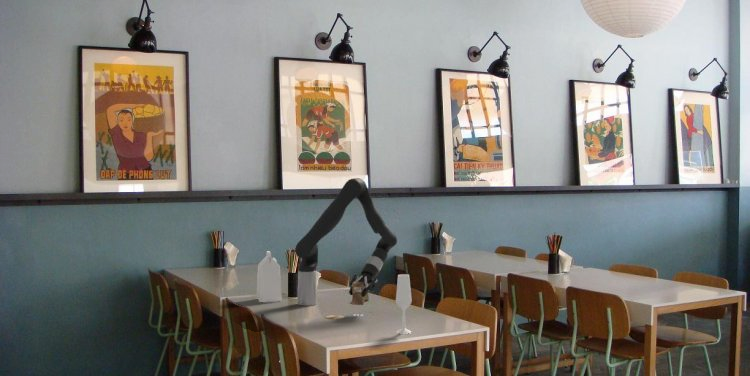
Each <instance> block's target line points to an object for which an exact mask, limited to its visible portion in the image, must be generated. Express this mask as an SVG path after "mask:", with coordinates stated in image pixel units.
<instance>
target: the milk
mask: <svg viewBox="0 0 750 376" xmlns="http://www.w3.org/2000/svg"><path fill="white" fill-rule="evenodd" d="M256 276H257V278H256V279H257V280H256V300H257V299H258V300H259V301H258V300H257V301H258V303H260V302H263V303H276V302H277V303H278V301H280V302H283V301H282V300H283V299H282V298H283V297H282V281H281V280H282V277H281V266H280V264H279V263H278V260H277V259H276V258H275V257H273V256H272V252H271V251H269V250H267V251H266V256H264V258H263V259H262V260H261V261H260V262H259V263H258V265H257V275H256Z"/></svg>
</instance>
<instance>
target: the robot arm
mask: <svg viewBox="0 0 750 376" xmlns="http://www.w3.org/2000/svg"><path fill="white" fill-rule="evenodd" d="M354 199H357V200H358V201H359V202H360V205H361V206H362V209H363V212H364V215H365V218H366V221H367V223H368V225H369V226H370V227H371V229H372V231H373V233H375V234H376V235H377V234H378V235H380V237H381V238H380V239H379V240H378V242H377V244H376V246H375V249H374V250H373V252H372V254H371V256H370V257H369V259H367V261H366V262H365V264H364V266H363V267H362V269H361V273H360V275H356V274H354V275H353V277H352V278H351V281H350V282H349V286H350V288H349V291H348V294H349V295H350V296H352V288H353V282H364V286H365V288H364V290H363V291H362V293H361V296H362V297H365V296H366V294H367V292H368V293H369V292H370V291H374V289H375V288H376V285H377V284H378V283H379V280H378V279H377V276H378V275H379V273H380V271H381V269H382V267H383V266H384V263H385V262H386V260H387V258H388V254H389V251H390V250H391V249H392V248H394V247H395V246H396V245H397V243H398V238H397V236H396V234H395V233H394V232H393V230H391V228H390V227H389V226H388V225H387V224H386V222H385V220H384V219H383V217H382V215H381V213H380V212H379V210H378V208H377V207H376V204H375V202H374V201H373V198H372V196H371V194H370V191H369V188H368V186H367V184H366V181H365V180H364V179H362V178H359V177H358V178H357V177H355V178H349V179H348V180H347V181H346V182H345V183H344V185H343V186H342V187H341V190H340V192H339V193H338V194H337V196H336V197H335V199H333V200H332V201H331V203H330V204H329V205H328V207H326V209H325V210H324V211H323V213H321V214H320V216H319V218H318V219H317V220H316V222H315V223H314V224H313V225H312V227H311V228H310V230H309V231H308V232H307V233H305V235H304V236H303V237H302V238H301V239H300V240H299V241H298V242H297V243H296V246H295V248H294V249H295V250H294V251H295V255H296V256H297V257H298V258H300V259H301V262H300V263H299V265H298V267H297V268H298V269H297V271H298V272H297V273H298V275H297V276H298V278H297V279H298V280H297V281H298V282H297V289H296V290H297V306H305V307H306V306H309V307H310V306H315V305H317V302H318V300H317V267H318V264H319V263H318V262H319V248H318V247H319V246H318V243H319V242H320V241H321V240H322V239H323V238H324V237H326V236H327V235H328V234H330V233H331V232H332V231H333V230H334V229H335V228H336V227H337V225H339V223H340V221H341V220H342V218H343V217H344V214H345V211H346V209H347V208H348V206H349V205H350V204H351V203H352V202H353V201H354Z"/></svg>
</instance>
